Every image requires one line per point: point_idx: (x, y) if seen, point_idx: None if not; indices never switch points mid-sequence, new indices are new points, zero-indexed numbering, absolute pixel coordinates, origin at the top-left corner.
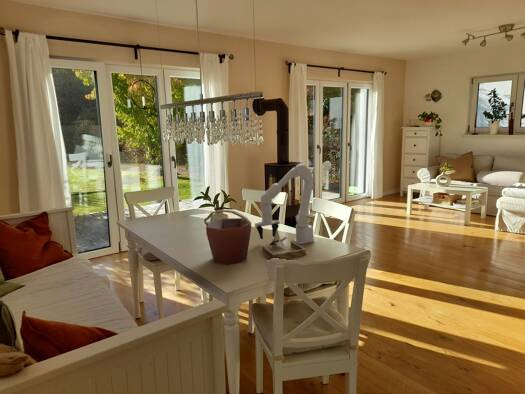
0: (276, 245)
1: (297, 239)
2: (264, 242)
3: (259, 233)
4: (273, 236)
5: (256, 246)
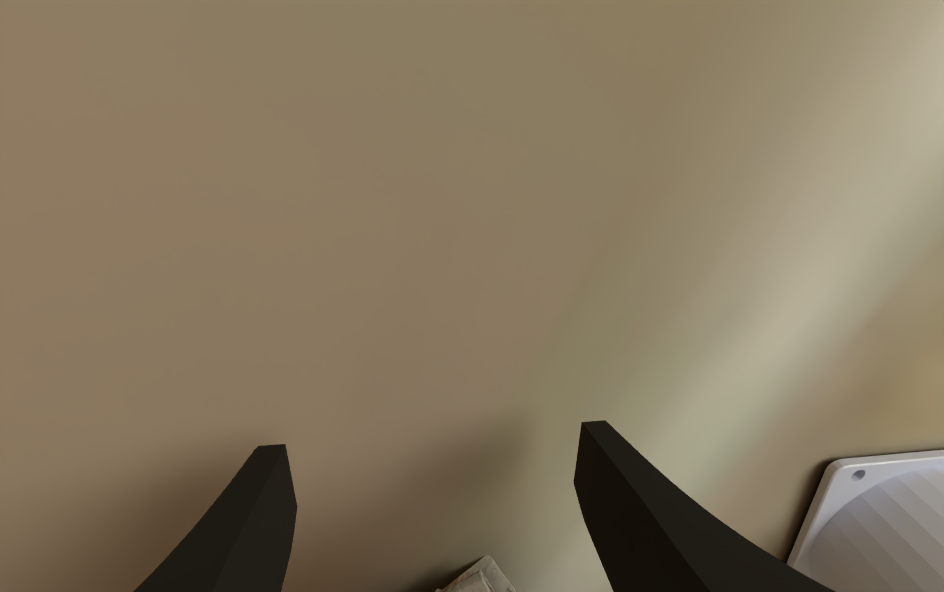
0: (485, 573)
1: (835, 588)
2: (374, 354)
3: (193, 557)
4: (580, 463)
5: (161, 489)
